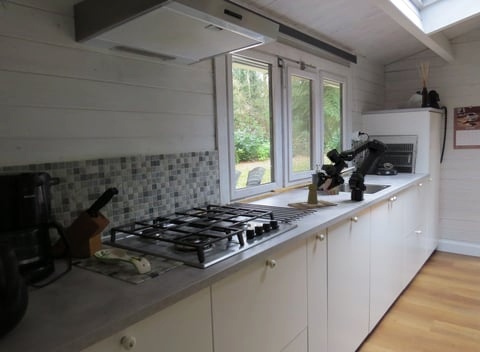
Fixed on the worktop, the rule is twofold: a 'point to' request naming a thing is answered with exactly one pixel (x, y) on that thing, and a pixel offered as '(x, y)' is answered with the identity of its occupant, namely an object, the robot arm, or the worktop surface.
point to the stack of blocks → (332, 191)
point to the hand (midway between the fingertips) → (321, 188)
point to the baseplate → (308, 206)
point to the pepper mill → (312, 194)
